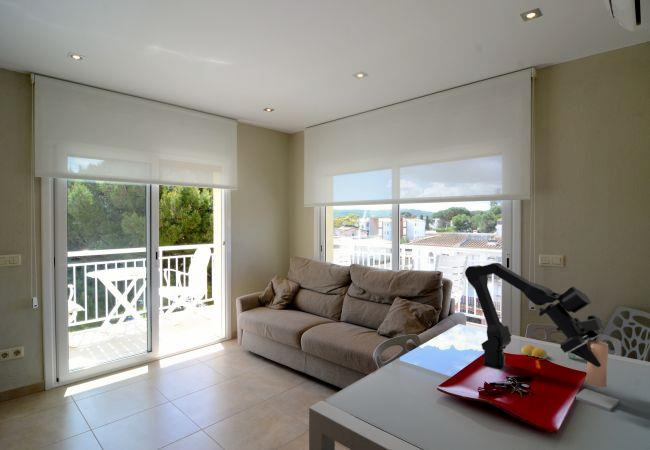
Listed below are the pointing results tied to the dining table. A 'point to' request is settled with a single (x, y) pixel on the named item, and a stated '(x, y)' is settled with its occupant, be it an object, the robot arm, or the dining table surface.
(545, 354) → the bread roll
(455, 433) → the dining table surface
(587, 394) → the slate coaster
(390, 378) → the dining table surface
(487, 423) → the dining table surface
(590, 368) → the peach pillar candle
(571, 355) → the pale green rounded piece
